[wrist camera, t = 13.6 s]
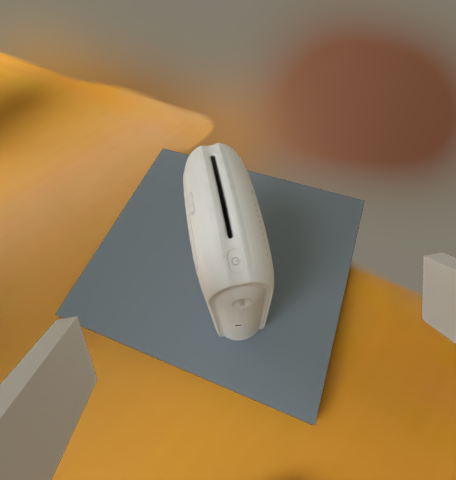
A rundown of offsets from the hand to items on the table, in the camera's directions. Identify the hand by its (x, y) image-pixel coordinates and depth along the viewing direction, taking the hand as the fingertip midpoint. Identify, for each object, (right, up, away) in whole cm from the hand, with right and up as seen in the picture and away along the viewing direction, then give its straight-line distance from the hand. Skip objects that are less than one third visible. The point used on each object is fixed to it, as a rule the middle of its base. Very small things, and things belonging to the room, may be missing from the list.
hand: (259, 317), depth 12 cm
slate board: (-2, +1, +18) cm, 18 cm away
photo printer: (-1, -1, +15) cm, 15 cm away
